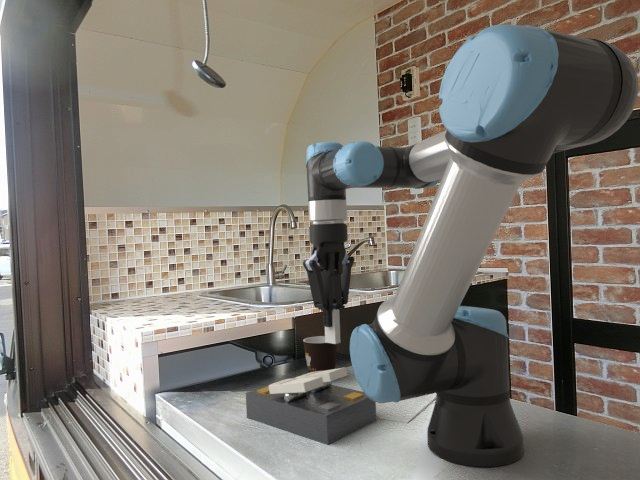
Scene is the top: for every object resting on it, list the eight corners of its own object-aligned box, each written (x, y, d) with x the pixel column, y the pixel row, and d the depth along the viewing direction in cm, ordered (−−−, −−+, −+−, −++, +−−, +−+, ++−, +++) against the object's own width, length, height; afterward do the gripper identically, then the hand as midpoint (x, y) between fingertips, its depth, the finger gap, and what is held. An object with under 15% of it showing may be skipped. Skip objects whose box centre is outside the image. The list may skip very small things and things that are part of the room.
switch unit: (376, 420, 95) (374, 386, 95) (327, 444, 85) (326, 407, 85) (296, 399, 110) (295, 369, 110) (246, 417, 100) (245, 385, 100)
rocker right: (347, 375, 99) (345, 366, 99) (330, 381, 95) (328, 372, 95) (312, 380, 105) (311, 372, 106) (296, 386, 102) (294, 377, 102)
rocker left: (323, 385, 94) (322, 375, 94) (305, 392, 90) (303, 382, 90) (288, 387, 100) (286, 378, 100) (269, 393, 97) (268, 384, 97)
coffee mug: (339, 383, 121) (337, 342, 121) (304, 384, 121) (302, 343, 121) (338, 370, 133) (336, 333, 133) (306, 371, 133) (304, 334, 133)
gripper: (335, 223, 105) (339, 334, 105) (290, 224, 95) (295, 346, 96) (363, 221, 100) (368, 338, 100) (319, 222, 90) (324, 351, 90)
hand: (332, 342), depth 98 cm, fingers closed
